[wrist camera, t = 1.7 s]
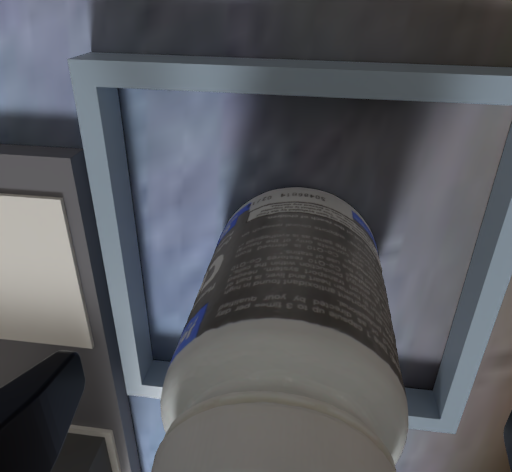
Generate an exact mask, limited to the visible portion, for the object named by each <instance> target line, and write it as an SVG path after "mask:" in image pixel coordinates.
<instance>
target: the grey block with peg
mask: <svg viewBox="0 0 512 472" xmlns="http://www.w3.org/2000/svg"><path fill="white" fill-rule="evenodd" d="M51 472H112V467H111V463H110V459H109V454H108V450H107V446H106V441H105V437H98V436H90V435H83V434H75V433H67V435H66V438H65V441H64V443H63V446H62V448H61V451H60V453H59V455H58V458H57V460H56V462H55V464H54V466H53V468H52V470H51Z"/></svg>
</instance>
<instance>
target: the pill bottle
mask: <svg viewBox="0 0 512 472" xmlns="http://www.w3.org/2000/svg"><path fill="white" fill-rule="evenodd" d="M161 417H162V422H163V426H164V430H165V433H166V434H165V437H164V439H163V441H162V442H161V444H160V445H159V448H158V450H157V452H156V455H155V458H154V463H153V467H152V471H151V472H396V469H395V464H396V463H397V461H398V460H399V458H400V456H401V454H402V451H403V448H404V445H405V443H406V438H407V432H408V405H407V397H406V392H405V388H404V384H403V380H402V375H401V370H400V366H399V361H398V354H397V348H396V340H395V335H394V331H393V326H392V321H391V314H390V310H389V306H388V298H387V294H386V288H385V285H384V280H383V276H382V268H381V264H380V260H379V254H378V250H377V246H376V243H375V240H374V237H373V234H372V232H371V230H370V228H369V226H368V225H367V223H366V222H365V220H364V219H363V218H362V216H361V215H360V214H359V213H358V212H357V211H356V210H355V209H354V208H353V207H351V206H350V205H349V204H347V203H346V202H345V201H343V200H342V199H340V198H338V197H336V196H335V195H333V194H330V193H327V192H324V191H320V190H317V189H310V188H302V187H290V188H282V189H275V190H271V191H268V192H265V193H263V194H261V195H259V196H256V197H254V198H253V199H251V200H249V201H248V202H247V203H245V204H244V205H243V206H242V207H241V208H240V209H238V210H237V211H236V212H235V214H234V215H233V216H232V217H231V218H230V220H229V221H228V223H227V225H226V227H225V228H224V230H223V232H222V234H221V236H220V239H219V241H218V244H217V246H216V249H215V252H214V255H213V257H212V260H211V262H210V264H209V266H208V269H207V272H206V274H205V277H204V280H203V283H202V285H201V288H200V290H199V293H198V295H197V298H196V300H195V303H194V306H193V309H192V311H191V313H190V315H189V318H188V321H187V323H186V325H185V327H184V330H183V332H182V335H181V337H180V340H179V342H178V345H177V347H176V350H175V352H174V355H173V357H172V360H171V362H170V364H169V367H168V370H167V373H166V376H165V380H164V384H163V388H162V394H161Z"/></svg>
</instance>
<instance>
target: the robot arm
mask: <svg viewBox="0 0 512 472" xmlns="http://www.w3.org/2000/svg"><path fill="white" fill-rule="evenodd" d="M84 388H85V375H84V371H83V366H82V362H81V358H80V355H79V354H78V353H77V352H74V351H65V350H59V351H57V352H55V353H53V354H52V355H50V356H49V357H47V358H46V359H44V360H43V361H41V362H40V363H38V364H36V365H35V366H33V367H32V368H30V369H29V370H27V371H26V372H24V373H23V374H21V375H19V376H18V377H16V378H15V379H13V380H12V381H10V382H9V383H7V384H6V385H4V386H2V387H1V388H0V472H51V470H52V468H53V466H54V464H55V462H56V460H57V458H58V455H59V453H60V451H61V448H62V446H63V443H64V441H65V438H66V435H67V433H68V430H69V428H70V425H71V422H72V420H73V417H74V415H75V412H76V409H77V407H78V404H79V401H80V399H81V396H82V394H83V391H84ZM504 442H505V446H506V451H507V455H508V460H509V465H510V469H511V472H512V411H511V413H510V415H509V418H508V420H507V422H506V425H505V428H504Z"/></svg>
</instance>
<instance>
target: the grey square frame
mask: <svg viewBox="0 0 512 472" xmlns="http://www.w3.org/2000/svg"><path fill="white" fill-rule="evenodd" d="M67 60H68V65H69V71H70V77H71V82H72V88H73V93H74V99H75V105H76V110H77V116H78V121H79V127H80V133H81V138H82V144H83V150H84V155H85V161H86V166H87V172H88V178H89V183H90V189H91V194H92V200H93V206H94V211H95V217H96V222H97V228H98V234H99V239H100V245H101V251H102V256H103V262H104V267H105V273H106V279H107V284H108V290H109V295H110V301H111V307H112V312H113V318H114V323H115V329H116V335H117V340H118V346H119V352H120V357H121V363H122V368H123V374H124V380H125V385H126V391H127V395H131V396H140V397H148V398H156V399H161V394H162V388H163V384H164V380H165V376H166V373H167V370H168V367H169V364H170V362H168V361H159V360H153V356H152V348H151V340H150V333H149V325H148V317H147V310H146V302H145V295H144V287H143V279H142V272H141V264H140V256H139V249H138V241H137V233H136V226H135V218H134V211H133V203H132V195H131V188H130V180H129V172H128V165H127V157H126V149H125V142H124V134H123V127H122V119H121V111H120V104H119V96H118V88H132V89H154V90H177V91H199V92H222V93H244V94H267V95H289V96H311V97H334V98H356V99H379V100H401V101H424V102H446V103H469V104H491V105H512V67H487V66H459V65H431V64H404V63H376V62H348V61H321V60H293V59H265V58H237V57H210V56H182V55H154V54H127V53H99V52H89V53H86V54H83V55H80V56H76V57H73V58H70V59H67ZM511 275H512V123H511V127H510V130H509V133H508V137H507V140H506V144H505V147H504V150H503V154H502V157H501V161H500V164H499V167H498V171H497V174H496V178H495V181H494V184H493V188H492V191H491V195H490V198H489V201H488V205H487V208H486V211H485V215H484V218H483V222H482V225H481V228H480V232H479V235H478V239H477V242H476V245H475V249H474V252H473V256H472V259H471V262H470V266H469V269H468V273H467V276H466V279H465V283H464V286H463V290H462V293H461V296H460V300H459V303H458V307H457V310H456V313H455V317H454V320H453V323H452V327H451V330H450V334H449V337H448V340H447V344H446V347H445V351H444V354H443V357H442V361H441V364H440V368H439V371H438V374H437V378H436V381H435V385H434V388H433V391H432V390H423V389H414V388H405V387H404V388H405V392H406V397H407V405H408V428H409V429H417V430H425V431H434V432H442V433H451V434H456V431H457V428H458V425H459V422H460V420H461V417H462V414H463V411H464V408H465V405H466V403H467V400H468V397H469V394H470V391H471V388H472V386H473V383H474V380H475V377H476V374H477V371H478V369H479V366H480V363H481V360H482V357H483V354H484V352H485V349H486V346H487V343H488V340H489V337H490V335H491V332H492V329H493V326H494V323H495V321H496V318H497V315H498V312H499V309H500V306H501V304H502V301H503V298H504V295H505V292H506V289H507V287H508V284H509V281H510V278H511Z"/></svg>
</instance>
